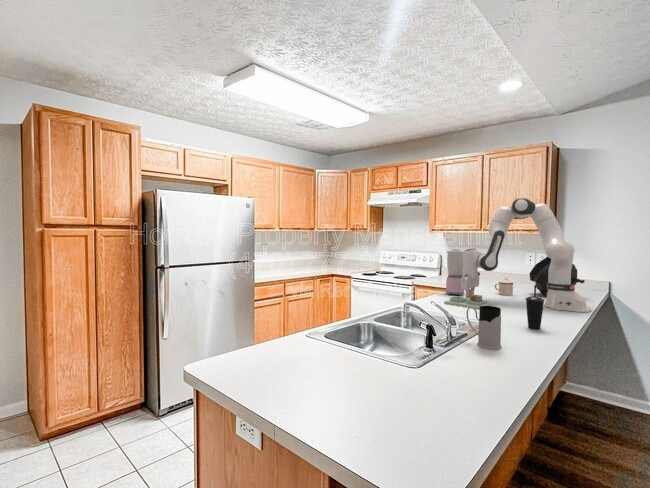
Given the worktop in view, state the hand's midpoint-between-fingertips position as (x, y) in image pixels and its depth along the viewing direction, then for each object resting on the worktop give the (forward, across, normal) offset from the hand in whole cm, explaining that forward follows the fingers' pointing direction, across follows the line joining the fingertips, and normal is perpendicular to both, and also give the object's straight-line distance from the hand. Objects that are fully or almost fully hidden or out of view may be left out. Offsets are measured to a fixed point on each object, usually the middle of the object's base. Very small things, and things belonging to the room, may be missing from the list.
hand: (469, 294), depth 230 cm
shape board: (+3, -17, -5) cm, 18 cm away
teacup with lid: (+4, +38, -8) cm, 39 cm away
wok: (+4, +56, -36) cm, 67 cm away
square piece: (+2, -17, -11) cm, 20 cm away
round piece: (+2, 0, 0) cm, 2 cm away
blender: (+3, +13, +14) cm, 20 cm away
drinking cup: (+4, -45, -49) cm, 67 cm away
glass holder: (+4, -86, -42) cm, 96 cm away
